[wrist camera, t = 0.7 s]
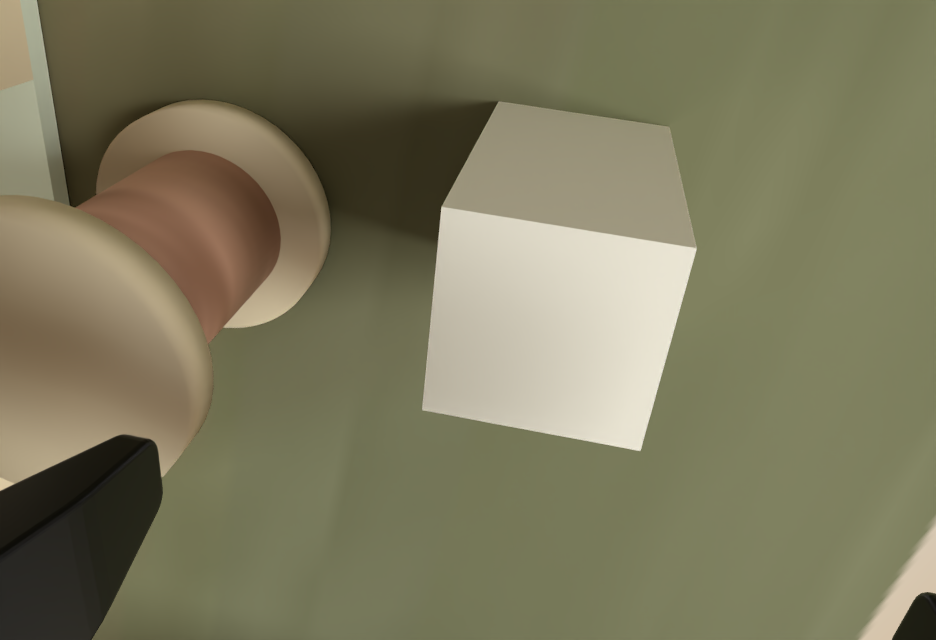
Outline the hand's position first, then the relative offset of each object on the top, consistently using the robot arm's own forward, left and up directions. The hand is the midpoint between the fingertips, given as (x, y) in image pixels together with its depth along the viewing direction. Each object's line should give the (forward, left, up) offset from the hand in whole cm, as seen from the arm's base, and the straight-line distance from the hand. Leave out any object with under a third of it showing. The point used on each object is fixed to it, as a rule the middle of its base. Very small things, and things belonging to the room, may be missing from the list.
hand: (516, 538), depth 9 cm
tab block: (0, 0, -12) cm, 12 cm away
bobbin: (-2, +9, -12) cm, 15 cm away
